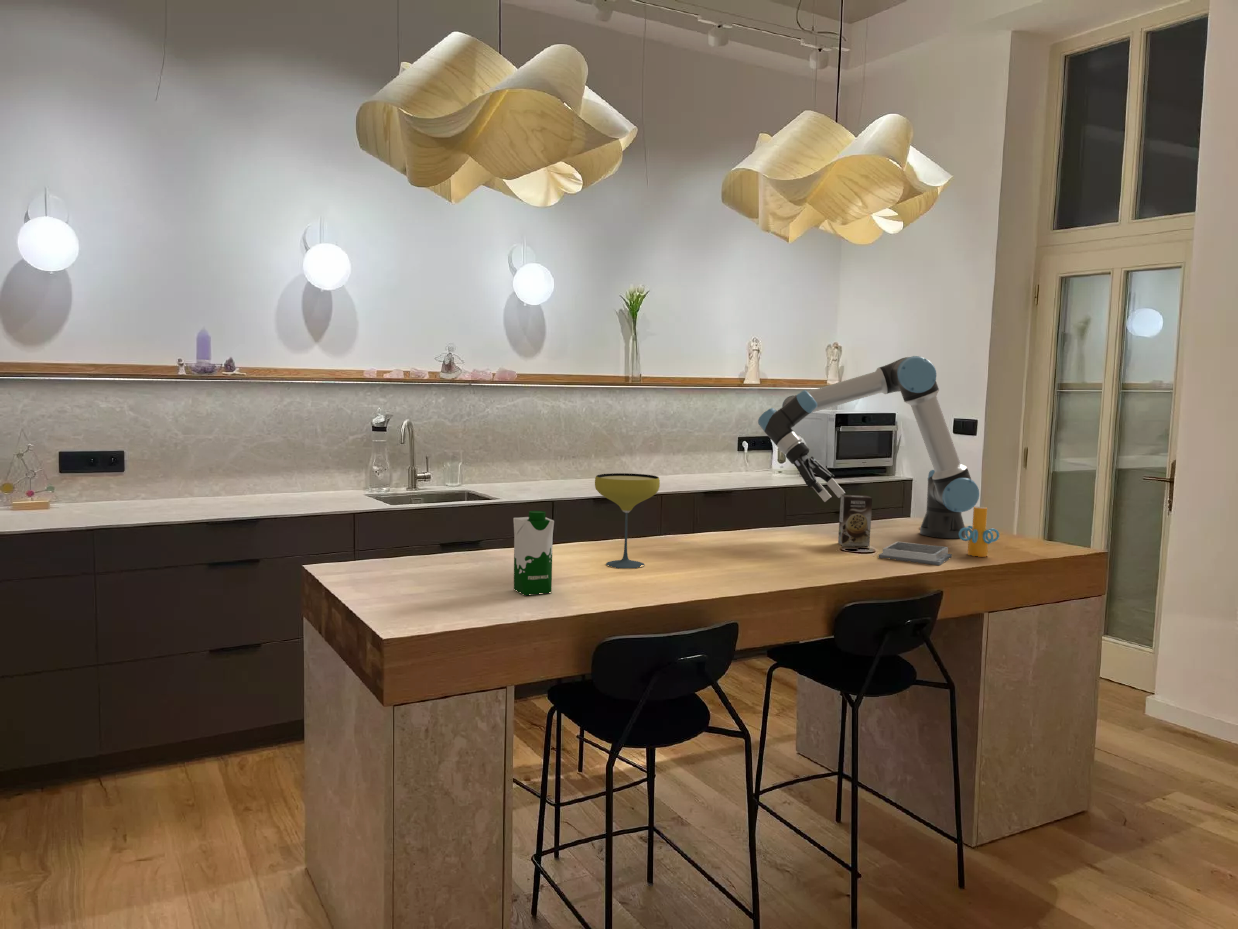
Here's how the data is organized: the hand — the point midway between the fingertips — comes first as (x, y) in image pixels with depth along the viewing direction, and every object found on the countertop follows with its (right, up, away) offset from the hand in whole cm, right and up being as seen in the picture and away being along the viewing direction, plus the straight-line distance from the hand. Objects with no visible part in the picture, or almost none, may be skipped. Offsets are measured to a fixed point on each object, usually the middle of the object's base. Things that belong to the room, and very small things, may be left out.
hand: (835, 497), depth 306 cm
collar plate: (+19, -18, -21) cm, 34 cm away
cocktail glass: (-69, -18, -43) cm, 83 cm away
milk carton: (-92, -20, -78) cm, 122 cm away
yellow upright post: (+41, -18, -15) cm, 47 cm away
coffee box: (+6, -16, -2) cm, 17 cm away
